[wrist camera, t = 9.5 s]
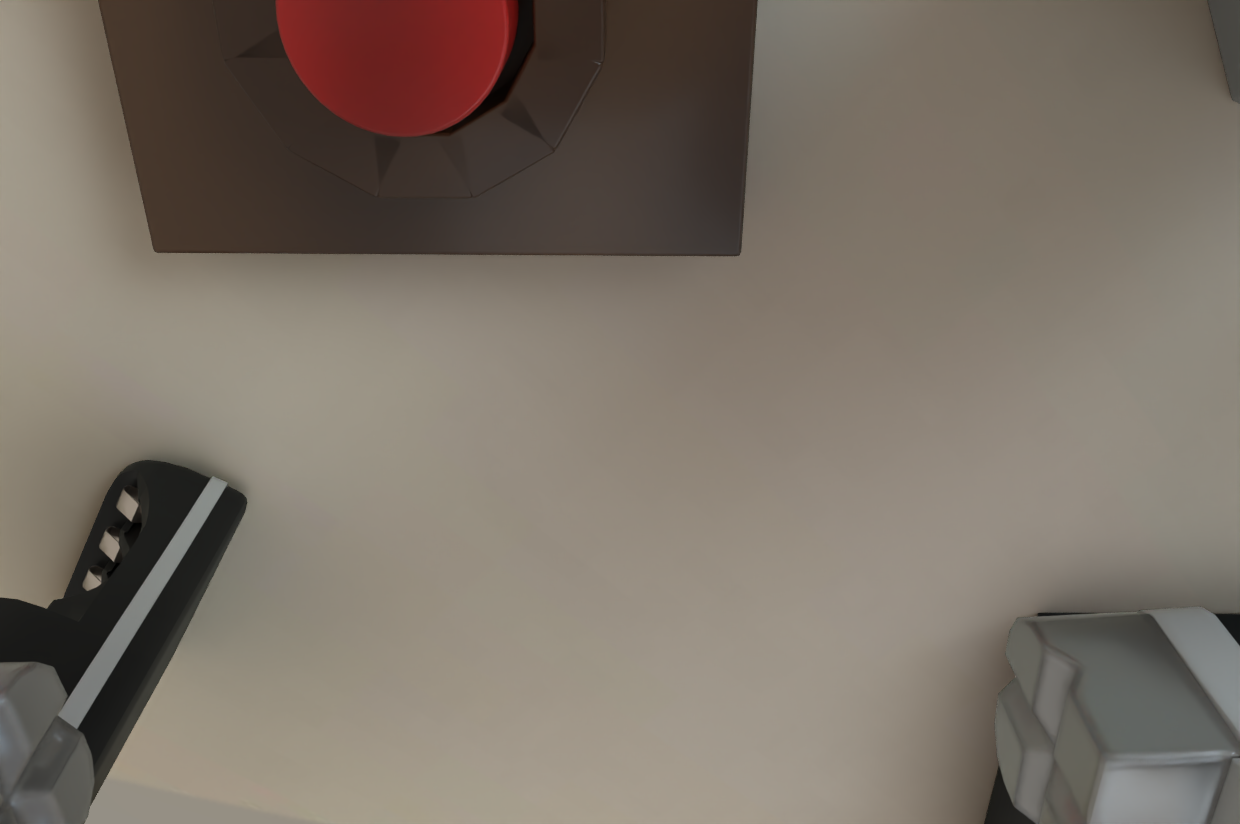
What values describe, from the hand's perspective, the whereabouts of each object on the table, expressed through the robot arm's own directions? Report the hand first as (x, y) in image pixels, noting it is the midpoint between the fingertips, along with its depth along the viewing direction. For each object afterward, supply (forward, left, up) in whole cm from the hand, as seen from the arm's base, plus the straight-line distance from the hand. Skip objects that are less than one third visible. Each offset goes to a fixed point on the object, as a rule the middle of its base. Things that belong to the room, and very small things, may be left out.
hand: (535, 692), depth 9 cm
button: (+3, -4, -12) cm, 13 cm away
